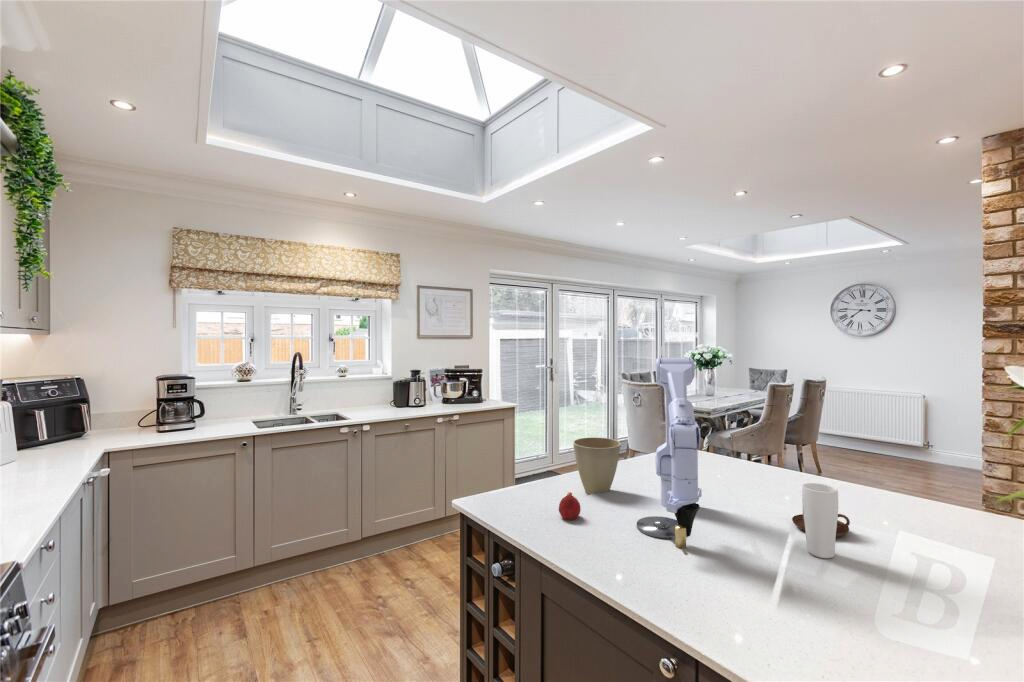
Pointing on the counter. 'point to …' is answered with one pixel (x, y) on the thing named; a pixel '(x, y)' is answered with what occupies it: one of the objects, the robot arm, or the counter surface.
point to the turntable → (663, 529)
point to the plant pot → (596, 462)
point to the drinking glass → (820, 518)
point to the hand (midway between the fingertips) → (685, 534)
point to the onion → (569, 507)
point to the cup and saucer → (841, 526)
